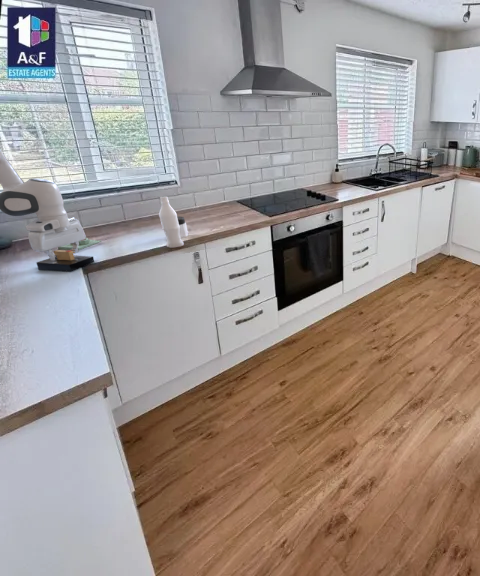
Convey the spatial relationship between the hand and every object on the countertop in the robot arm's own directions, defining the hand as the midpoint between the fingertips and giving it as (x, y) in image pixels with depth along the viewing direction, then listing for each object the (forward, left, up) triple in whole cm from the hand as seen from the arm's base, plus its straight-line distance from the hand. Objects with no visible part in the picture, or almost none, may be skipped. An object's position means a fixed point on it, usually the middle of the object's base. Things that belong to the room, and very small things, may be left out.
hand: (65, 256), depth 147 cm
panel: (0, 0, -4) cm, 4 cm away
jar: (+20, +44, -4) cm, 48 cm away
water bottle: (+27, +30, -4) cm, 40 cm away
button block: (-16, +24, -4) cm, 29 cm away
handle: (0, 0, -1) cm, 1 cm away
